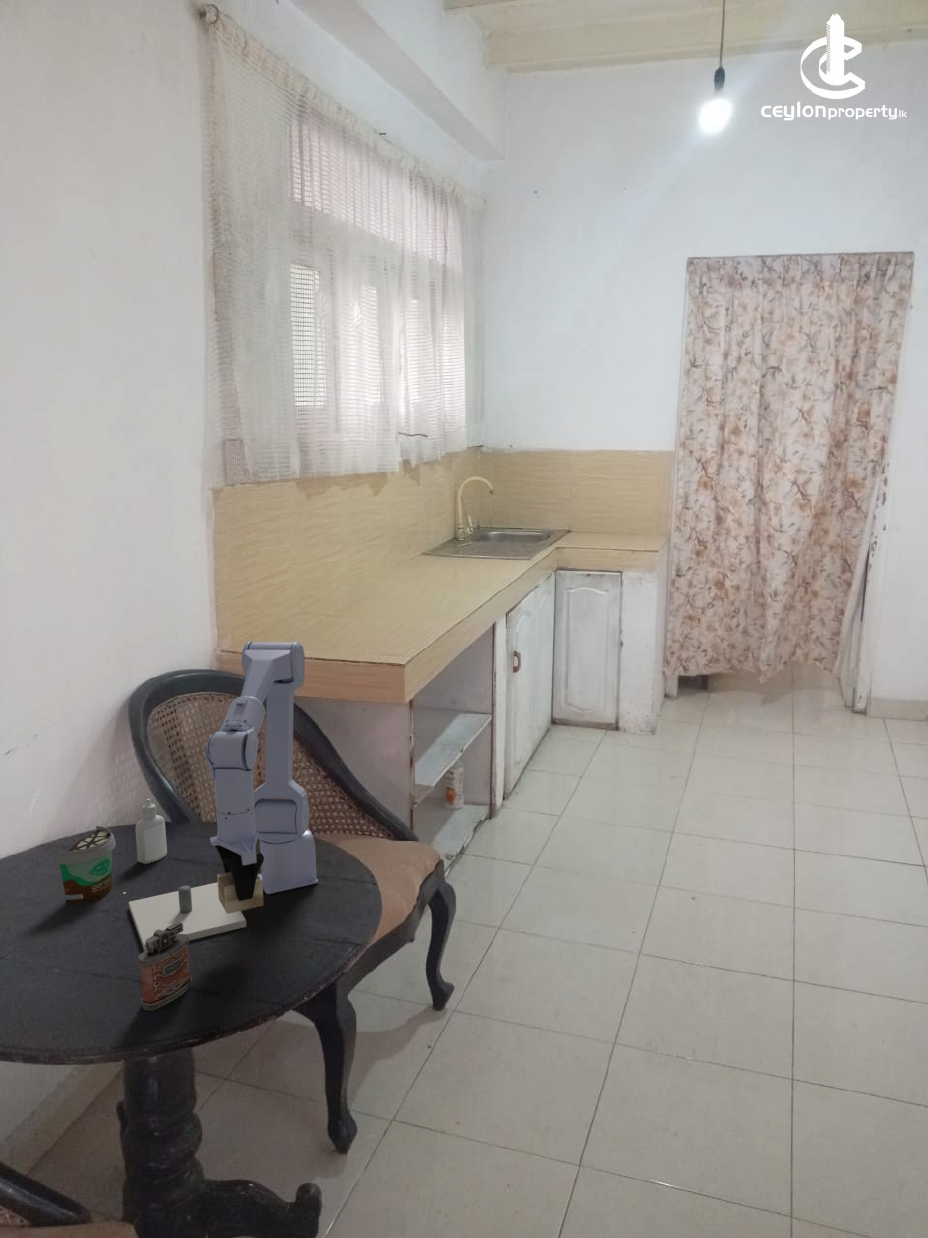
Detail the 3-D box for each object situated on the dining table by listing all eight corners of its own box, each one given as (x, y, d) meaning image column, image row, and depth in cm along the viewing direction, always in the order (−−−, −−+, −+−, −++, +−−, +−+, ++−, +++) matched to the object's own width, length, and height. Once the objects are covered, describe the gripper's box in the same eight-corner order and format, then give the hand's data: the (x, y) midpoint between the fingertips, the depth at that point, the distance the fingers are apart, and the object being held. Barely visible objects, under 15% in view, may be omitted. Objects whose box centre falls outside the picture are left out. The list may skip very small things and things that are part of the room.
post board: (223, 887, 165) (221, 860, 165) (246, 926, 152) (244, 897, 151) (129, 908, 158) (126, 880, 157) (144, 951, 144) (142, 920, 143)
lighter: (152, 1013, 128) (147, 946, 126) (136, 1005, 130) (131, 940, 128) (197, 985, 135) (193, 921, 133) (181, 978, 137) (177, 915, 135)
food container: (93, 910, 158) (88, 855, 156) (61, 907, 159) (55, 852, 157) (132, 878, 170) (128, 827, 168) (102, 876, 171) (98, 824, 169)
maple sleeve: (253, 890, 148) (252, 867, 147) (263, 905, 143) (262, 881, 142) (218, 898, 145) (217, 875, 145) (227, 914, 140) (225, 889, 140)
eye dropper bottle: (170, 859, 177) (165, 800, 175) (139, 866, 175) (134, 805, 173) (165, 851, 181) (161, 793, 179) (135, 857, 179) (130, 798, 176)
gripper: (198, 797, 146) (203, 877, 148) (220, 829, 133) (225, 916, 136) (243, 789, 149) (247, 868, 151) (268, 819, 136) (272, 905, 139)
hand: (240, 890), depth 144 cm, fingers closed on maple sleeve, 6 cm apart
